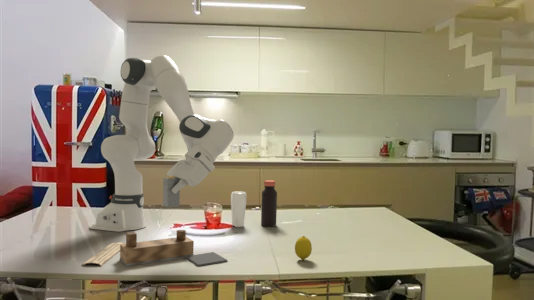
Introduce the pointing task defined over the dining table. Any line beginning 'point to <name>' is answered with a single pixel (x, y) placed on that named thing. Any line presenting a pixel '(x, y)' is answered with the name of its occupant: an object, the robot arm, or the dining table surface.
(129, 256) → the plane body
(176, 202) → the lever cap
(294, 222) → the dining table surface
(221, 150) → the robot arm
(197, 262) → the pad
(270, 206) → the bottle
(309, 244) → the lemon
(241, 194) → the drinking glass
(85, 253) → the dining table surface
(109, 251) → the newspaper
